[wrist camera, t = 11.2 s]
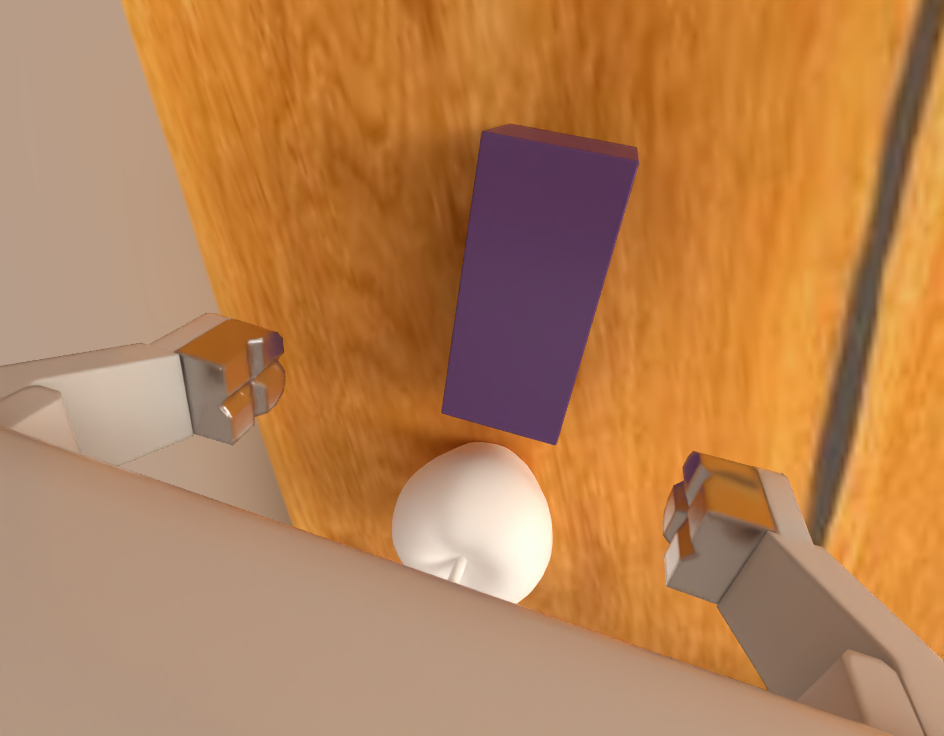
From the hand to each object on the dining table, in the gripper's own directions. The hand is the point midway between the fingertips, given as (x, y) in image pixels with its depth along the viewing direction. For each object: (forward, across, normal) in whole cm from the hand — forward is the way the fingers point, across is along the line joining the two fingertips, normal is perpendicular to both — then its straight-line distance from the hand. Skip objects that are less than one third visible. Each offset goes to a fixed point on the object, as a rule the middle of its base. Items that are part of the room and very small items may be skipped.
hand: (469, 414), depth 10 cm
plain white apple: (+12, 0, +12) cm, 16 cm away
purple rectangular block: (+12, 0, +1) cm, 12 cm away
